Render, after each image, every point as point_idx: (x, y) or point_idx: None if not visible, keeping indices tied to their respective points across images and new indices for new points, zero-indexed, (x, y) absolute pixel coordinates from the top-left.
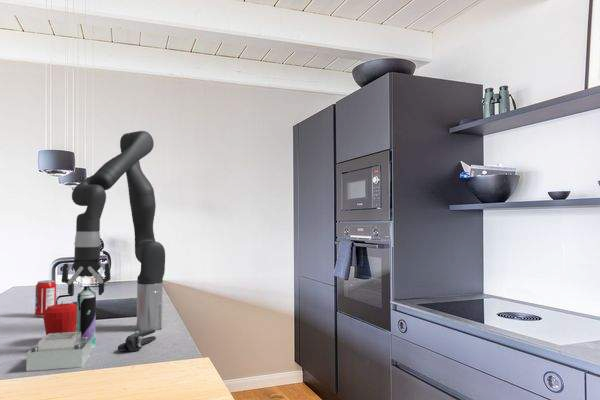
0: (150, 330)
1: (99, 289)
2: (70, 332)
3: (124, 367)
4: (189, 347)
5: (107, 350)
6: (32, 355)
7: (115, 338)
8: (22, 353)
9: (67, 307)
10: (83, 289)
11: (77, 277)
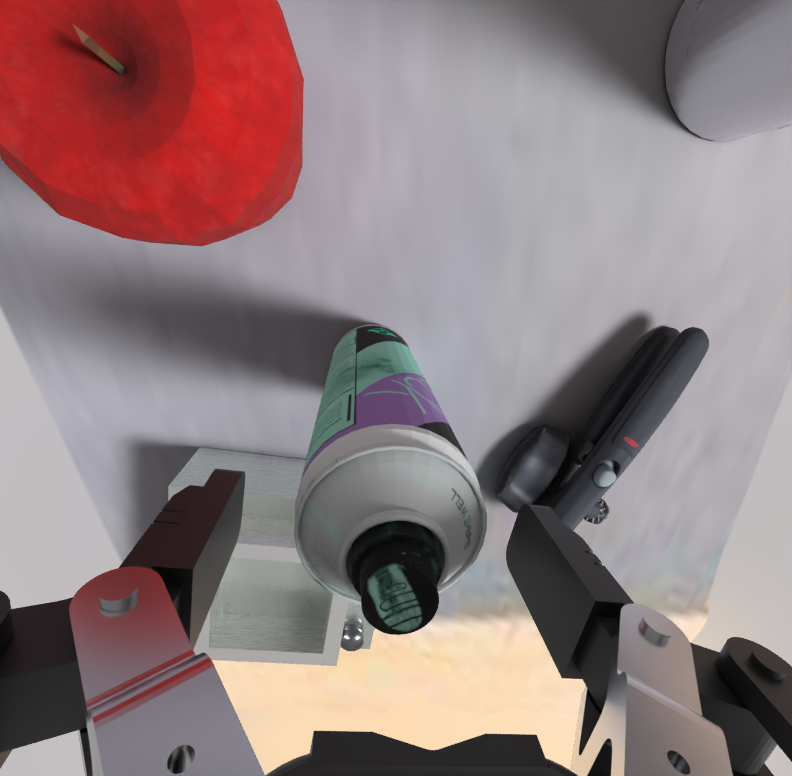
0: (679, 394)
1: (537, 612)
2: None
3: (488, 631)
4: (729, 509)
5: (458, 437)
6: None
7: (514, 232)
8: (91, 338)
9: (196, 199)
10: (357, 590)
11: (207, 677)
